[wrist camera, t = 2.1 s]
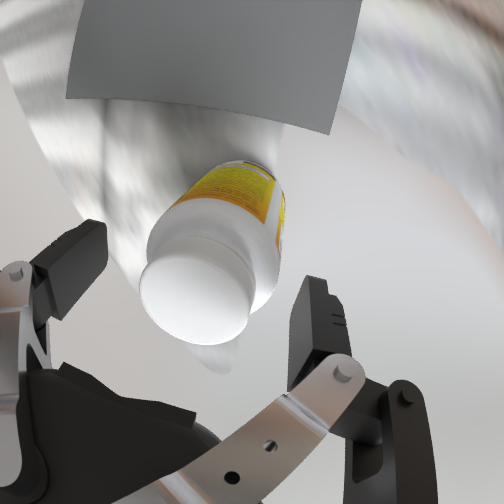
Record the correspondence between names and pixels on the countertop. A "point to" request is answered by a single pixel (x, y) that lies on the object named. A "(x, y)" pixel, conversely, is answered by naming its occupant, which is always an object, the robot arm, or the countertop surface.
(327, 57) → the mat
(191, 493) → the robot arm
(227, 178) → the supplement bottle
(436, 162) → the countertop surface
